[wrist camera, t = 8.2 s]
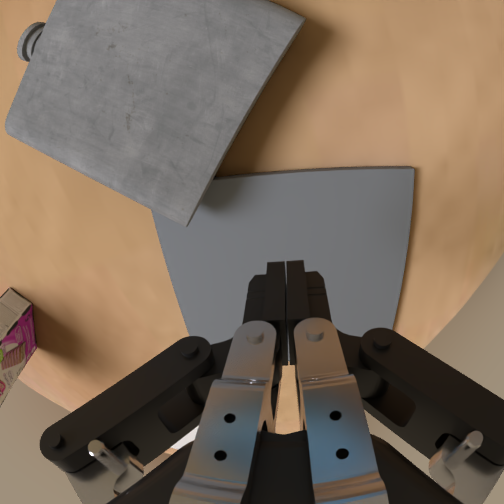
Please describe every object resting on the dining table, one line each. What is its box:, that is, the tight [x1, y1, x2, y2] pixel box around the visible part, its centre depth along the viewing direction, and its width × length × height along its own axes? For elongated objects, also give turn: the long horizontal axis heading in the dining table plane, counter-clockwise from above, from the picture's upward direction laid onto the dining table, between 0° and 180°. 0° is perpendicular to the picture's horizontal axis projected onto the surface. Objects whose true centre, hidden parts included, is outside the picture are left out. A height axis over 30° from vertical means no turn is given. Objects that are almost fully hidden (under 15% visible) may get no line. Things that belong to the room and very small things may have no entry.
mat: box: [151, 166, 415, 361], centre depth 25 cm, size 19×20×1 cm
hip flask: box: [5, 0, 306, 227], centre depth 16 cm, size 16×4×20 cm
